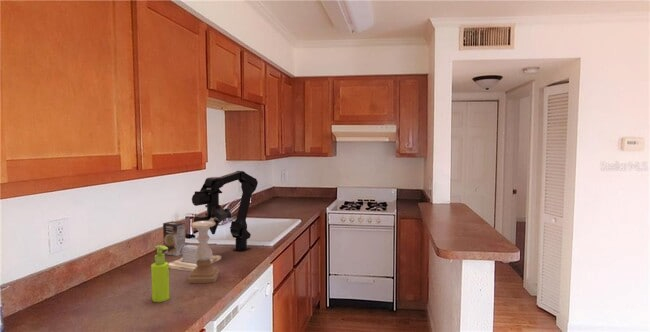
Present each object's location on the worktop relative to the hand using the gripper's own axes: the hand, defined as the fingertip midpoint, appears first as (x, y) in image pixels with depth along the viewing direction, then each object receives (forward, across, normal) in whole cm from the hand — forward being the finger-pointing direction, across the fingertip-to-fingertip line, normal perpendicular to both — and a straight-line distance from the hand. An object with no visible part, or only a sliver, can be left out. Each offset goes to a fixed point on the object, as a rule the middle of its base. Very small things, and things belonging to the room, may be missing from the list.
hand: (213, 234), depth 189 cm
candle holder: (+12, -21, -20) cm, 31 cm away
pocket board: (+12, -10, +1) cm, 16 cm away
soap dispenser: (+12, -43, -24) cm, 51 cm away
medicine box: (+12, -12, 0) cm, 17 cm away
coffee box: (+12, -7, +22) cm, 27 cm away
